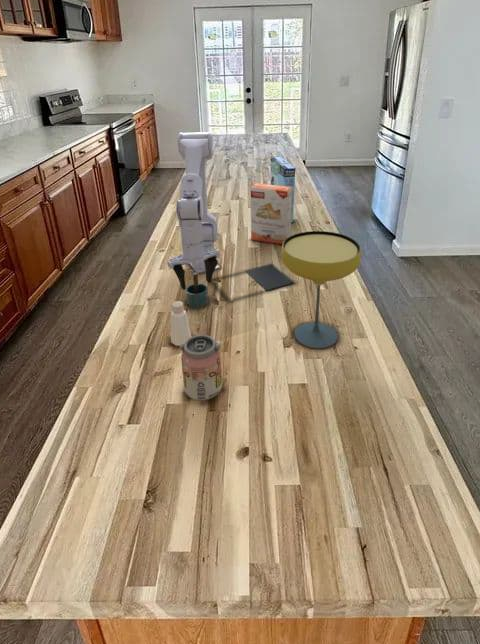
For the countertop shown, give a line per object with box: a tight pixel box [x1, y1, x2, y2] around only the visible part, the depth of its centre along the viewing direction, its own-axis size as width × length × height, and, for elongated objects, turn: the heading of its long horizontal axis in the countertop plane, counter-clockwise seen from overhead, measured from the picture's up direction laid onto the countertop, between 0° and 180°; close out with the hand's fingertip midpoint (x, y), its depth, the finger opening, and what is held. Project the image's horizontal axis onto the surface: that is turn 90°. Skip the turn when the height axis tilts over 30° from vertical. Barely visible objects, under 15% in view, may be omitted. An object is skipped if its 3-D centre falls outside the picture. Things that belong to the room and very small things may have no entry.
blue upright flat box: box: [269, 156, 296, 223], centre depth 183 cm, size 20×5×23 cm, turn 13°
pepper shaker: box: [170, 300, 192, 347], centre depth 107 cm, size 5×5×11 cm
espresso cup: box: [185, 283, 209, 308], centre depth 125 cm, size 6×6×4 cm
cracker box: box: [250, 182, 292, 245], centre depth 159 cm, size 14×6×21 cm, turn 68°
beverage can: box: [179, 334, 223, 402], centre depth 92 cm, size 9×8×12 cm
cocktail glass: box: [281, 230, 362, 349], centre depth 105 cm, size 18×18×25 cm
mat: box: [244, 264, 294, 292], centre depth 135 cm, size 14×22×1 cm, turn 116°
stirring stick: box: [192, 271, 199, 294], centre depth 123 cm, size 1×1×9 cm
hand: (196, 284), depth 123 cm, fingers open, 7 cm apart
